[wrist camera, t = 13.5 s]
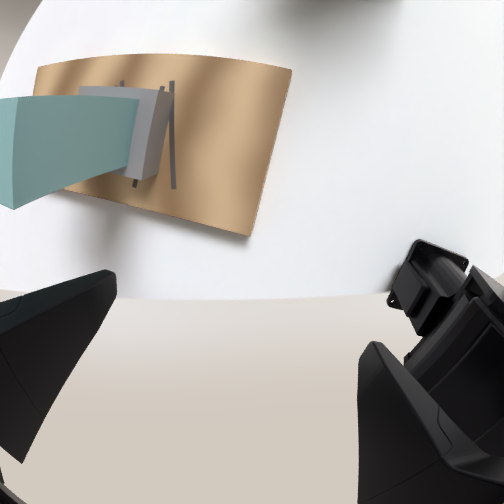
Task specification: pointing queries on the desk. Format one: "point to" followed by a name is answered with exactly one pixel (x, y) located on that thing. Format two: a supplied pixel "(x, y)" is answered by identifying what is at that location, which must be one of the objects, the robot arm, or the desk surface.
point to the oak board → (191, 132)
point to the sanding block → (79, 139)
